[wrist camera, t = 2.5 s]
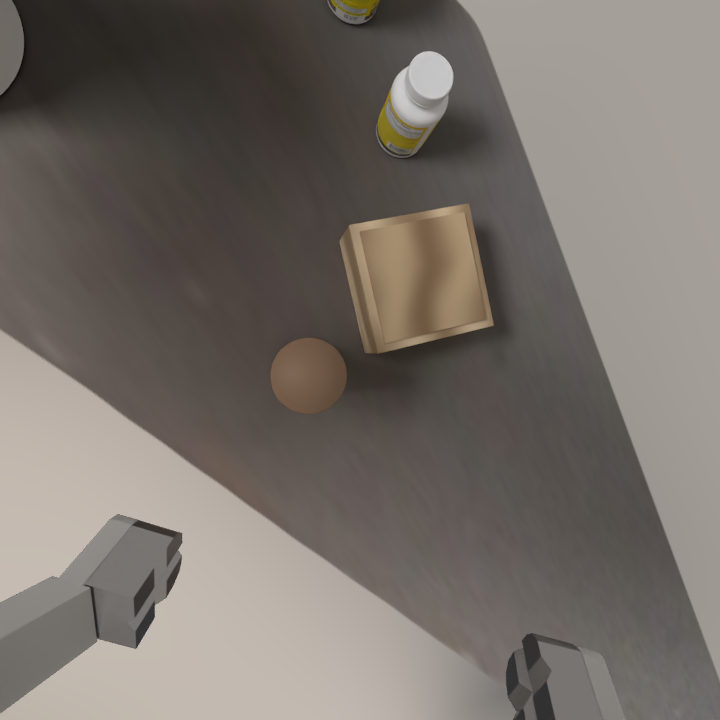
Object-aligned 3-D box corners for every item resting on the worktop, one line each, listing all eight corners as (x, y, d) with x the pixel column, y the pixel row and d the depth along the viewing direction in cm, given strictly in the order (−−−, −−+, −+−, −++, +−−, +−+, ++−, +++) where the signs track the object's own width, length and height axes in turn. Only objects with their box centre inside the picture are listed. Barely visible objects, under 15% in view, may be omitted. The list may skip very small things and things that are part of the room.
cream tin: (279, 402, 43) (280, 422, 31) (265, 347, 43) (262, 347, 31) (333, 388, 44) (354, 403, 32) (321, 335, 44) (337, 330, 32)
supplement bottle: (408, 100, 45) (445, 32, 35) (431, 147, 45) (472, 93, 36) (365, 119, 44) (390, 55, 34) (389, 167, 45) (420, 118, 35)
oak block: (364, 353, 45) (378, 353, 38) (339, 241, 44) (349, 224, 38) (466, 328, 47) (495, 325, 41) (444, 221, 46) (470, 202, 40)
